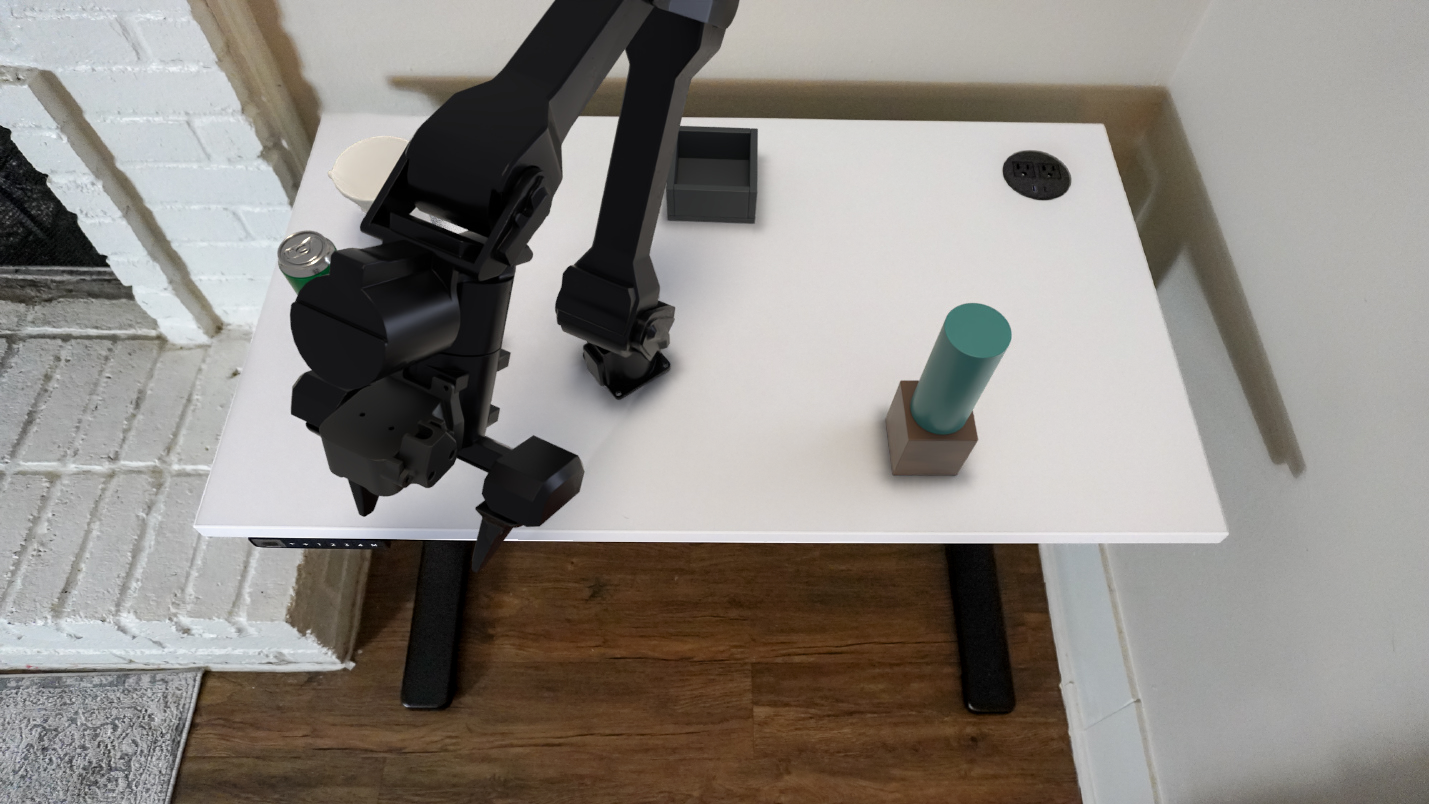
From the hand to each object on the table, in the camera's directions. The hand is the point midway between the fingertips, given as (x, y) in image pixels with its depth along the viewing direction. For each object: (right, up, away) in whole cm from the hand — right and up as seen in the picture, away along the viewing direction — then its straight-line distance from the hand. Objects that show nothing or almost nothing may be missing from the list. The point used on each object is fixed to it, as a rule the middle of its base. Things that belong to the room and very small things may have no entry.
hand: (421, 541), depth 58 cm
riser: (+39, +5, +21) cm, 45 cm away
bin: (+20, +33, +37) cm, 54 cm away
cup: (-13, +28, +34) cm, 46 cm away
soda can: (-17, +17, +27) cm, 36 cm away
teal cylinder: (+40, +9, +15) cm, 43 cm away
